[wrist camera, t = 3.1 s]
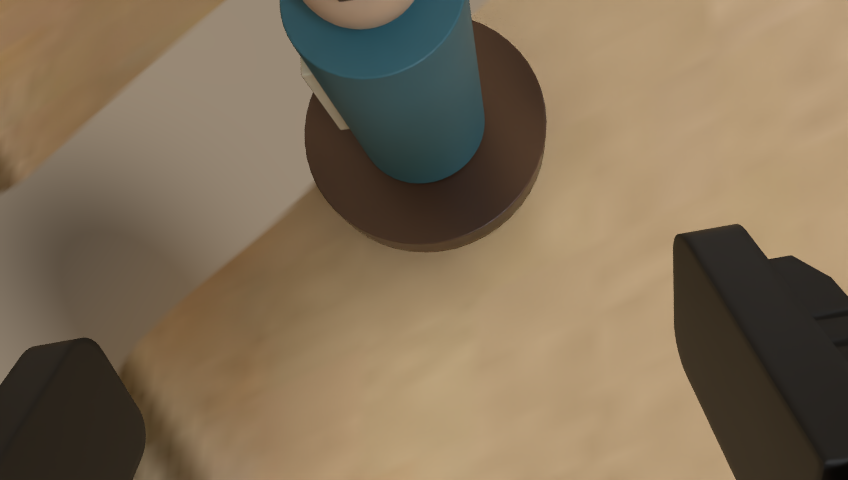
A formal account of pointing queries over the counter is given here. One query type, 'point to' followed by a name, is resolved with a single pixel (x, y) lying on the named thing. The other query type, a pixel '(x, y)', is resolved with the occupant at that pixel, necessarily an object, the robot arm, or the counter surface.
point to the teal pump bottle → (395, 78)
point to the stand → (452, 196)
